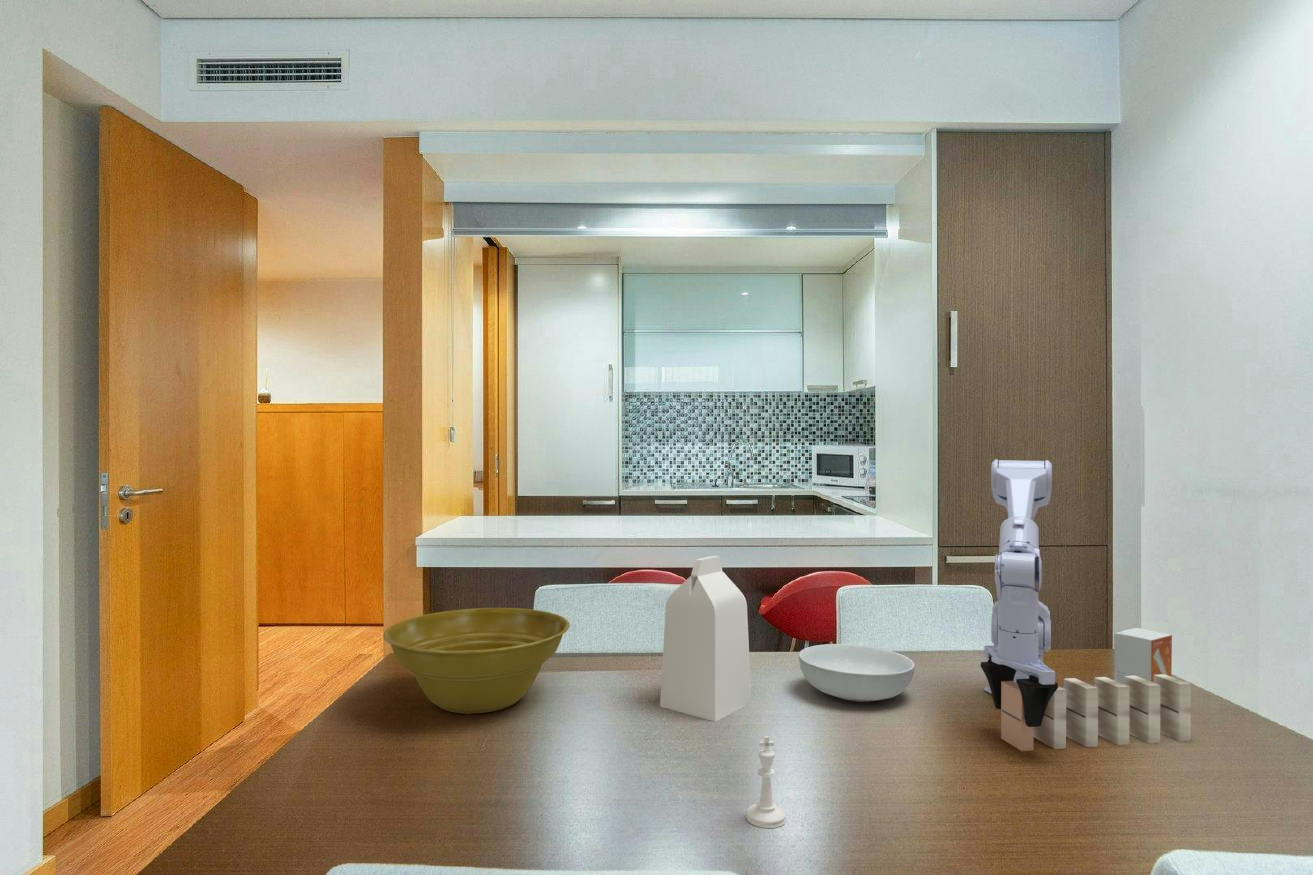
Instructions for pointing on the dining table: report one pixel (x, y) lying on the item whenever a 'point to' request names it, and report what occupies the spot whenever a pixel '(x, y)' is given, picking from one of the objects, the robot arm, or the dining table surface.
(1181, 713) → the domino
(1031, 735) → the head domino
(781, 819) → the chess piece
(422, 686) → the planter bowl
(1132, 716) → the domino
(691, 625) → the milk
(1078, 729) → the domino
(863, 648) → the serving bowl
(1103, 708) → the domino
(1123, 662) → the small box
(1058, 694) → the domino
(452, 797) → the dining table surface
